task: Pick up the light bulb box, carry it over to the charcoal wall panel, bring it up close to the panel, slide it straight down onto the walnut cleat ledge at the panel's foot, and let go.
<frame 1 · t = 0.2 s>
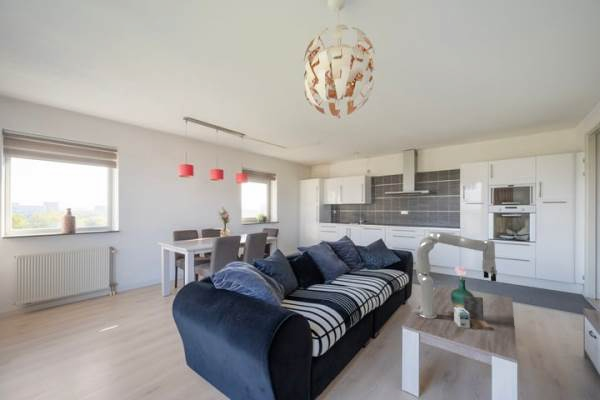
hand: (489, 279, 191), 31 cm above the table, tool pointing down, fingers open, 9 cm apart
light bulb box: (461, 325, 183), on the table
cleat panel: (478, 325, 181), on the table
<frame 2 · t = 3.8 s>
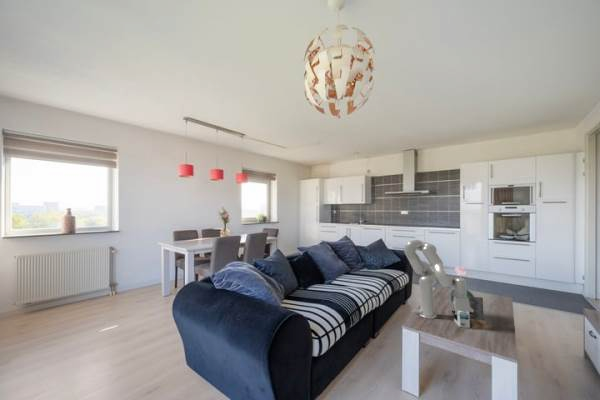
hand: (461, 319, 184), 3 cm above the table, tool pointing down, fingers closed on light bulb box, 6 cm apart
light bulb box: (461, 324, 183), on the table, touching gripper
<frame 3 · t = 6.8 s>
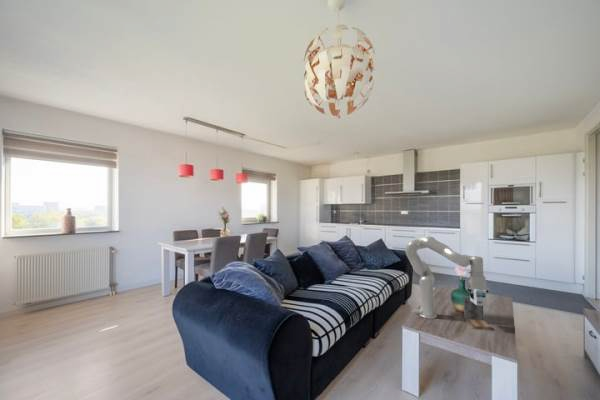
hand: (477, 298, 181), 20 cm above the table, tool pointing down, fingers closed on light bulb box, 6 cm apart
light bulb box: (478, 303, 181), point 16 cm above the table, touching gripper
when the fingers open (6 cm above the table, at t = 10.2 s): light bulb box stays where it is, resting on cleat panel.
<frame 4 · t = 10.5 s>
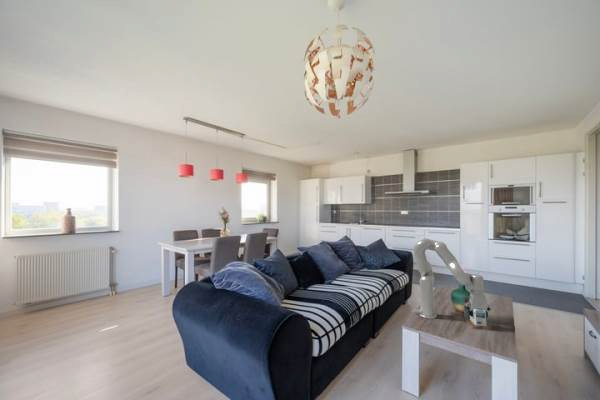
hand: (478, 316, 181), 7 cm above the table, tool pointing down, fingers open, 9 cm apart
light bulb box: (477, 323, 181), point 2 cm above the table, touching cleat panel
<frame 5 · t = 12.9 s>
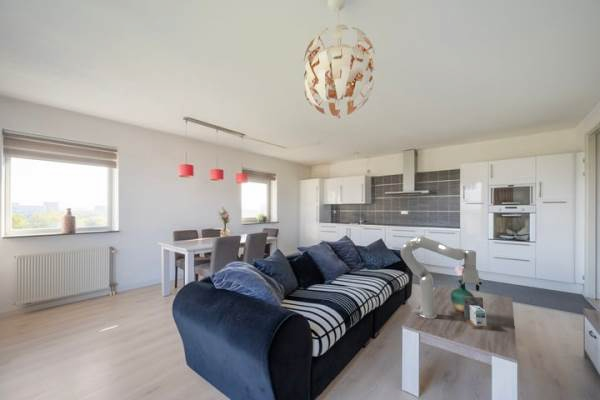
hand: (469, 290, 187), 24 cm above the table, tool pointing down, fingers open, 9 cm apart
nothing on the table moved.
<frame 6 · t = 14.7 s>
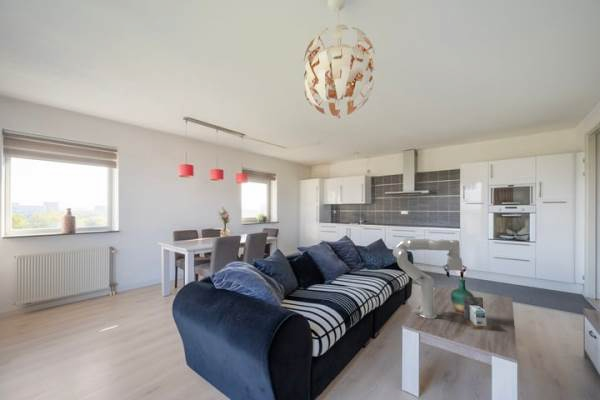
hand: (454, 277, 200), 30 cm above the table, tool pointing down, fingers open, 9 cm apart
nothing on the table moved.
at the end: light bulb box 0.4 cm off-centre on the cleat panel, point 1.8 cm above the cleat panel's base; light bulb box tilted 0°; the gripper is holding nothing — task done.
